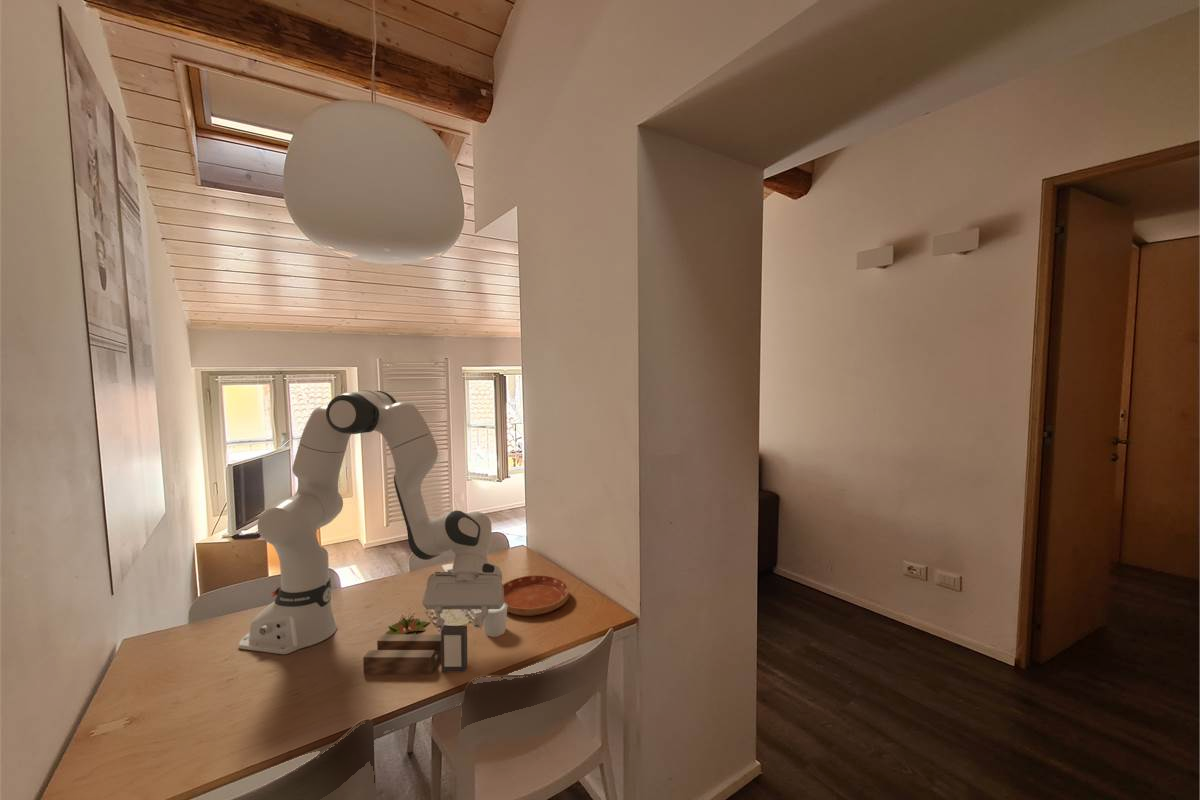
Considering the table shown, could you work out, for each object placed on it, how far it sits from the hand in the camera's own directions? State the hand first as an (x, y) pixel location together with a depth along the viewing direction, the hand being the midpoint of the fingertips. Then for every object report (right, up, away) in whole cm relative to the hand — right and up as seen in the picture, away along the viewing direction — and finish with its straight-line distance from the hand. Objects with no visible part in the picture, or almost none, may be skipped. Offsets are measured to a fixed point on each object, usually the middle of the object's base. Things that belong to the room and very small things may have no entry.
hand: (458, 626), depth 116 cm
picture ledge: (-13, -9, 0) cm, 16 cm away
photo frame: (-13, -7, +55) cm, 57 cm away
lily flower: (-19, -9, +16) cm, 26 cm away
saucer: (+14, -8, +33) cm, 36 cm away
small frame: (0, -9, -2) cm, 9 cm away
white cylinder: (+6, -8, +15) cm, 18 cm away
